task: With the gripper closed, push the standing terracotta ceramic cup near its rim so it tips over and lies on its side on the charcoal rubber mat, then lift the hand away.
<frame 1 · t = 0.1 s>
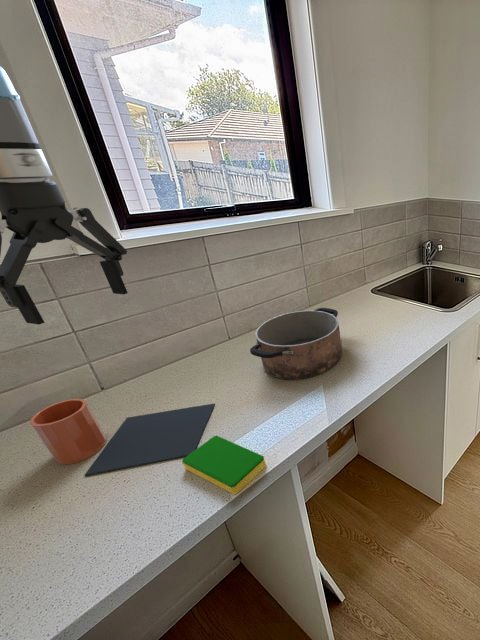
hand: (82, 306, 61), 30 cm above the countertop, tool pointing down, fingers open, 13 cm apart
cooking pot: (304, 358, 100), on the countertop
mat: (158, 435, 72), on the countertop
dish sponge: (226, 467, 65), on the countertop
cup: (82, 449, 69), on the countertop
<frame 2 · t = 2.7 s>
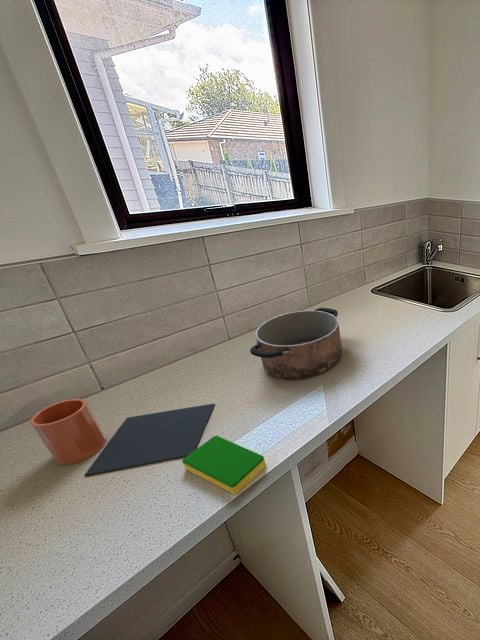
nothing on the countertop moved.
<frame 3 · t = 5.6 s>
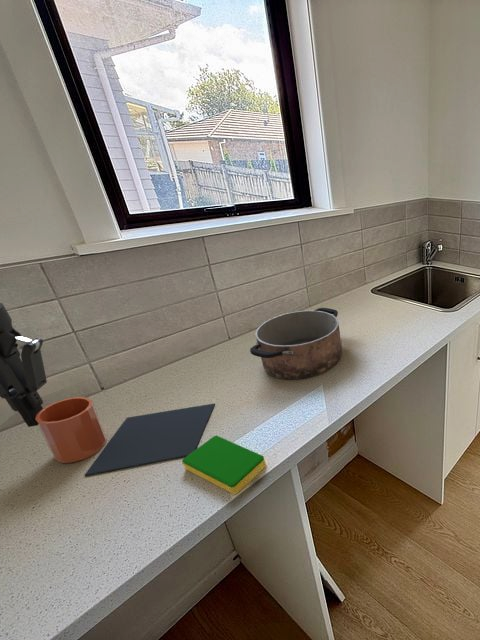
hand: (38, 421, 64), 9 cm above the countertop, tool pointing down, fingers closed
cup: (81, 448, 68), on the countertop, tilted 6°, touching gripper
everything else where it was.
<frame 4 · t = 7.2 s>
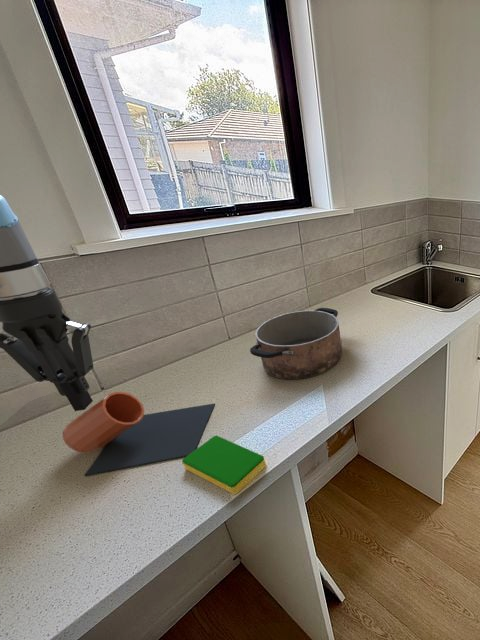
hand: (84, 405, 65), 10 cm above the countertop, tool pointing down, fingers closed
cup: (85, 435, 68), point 3 cm above the countertop, tilted 58°
everything else where it was.
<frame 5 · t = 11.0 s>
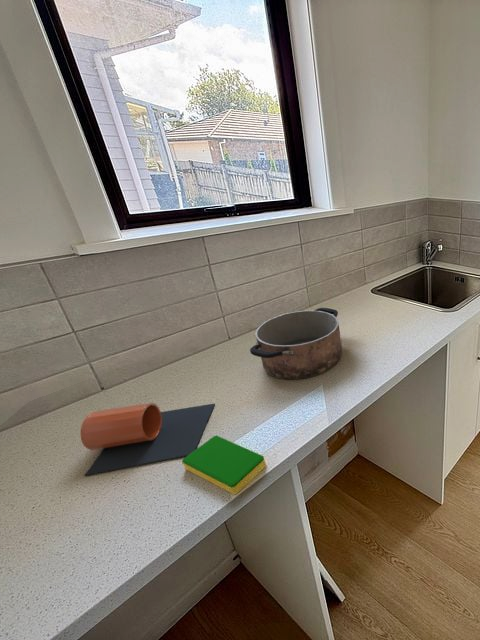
cup: (94, 430, 68), point 4 cm above the countertop, tilted 90°, touching mat
everything else where it was.
at the end: cup tilted 90°; cup inside the target area (2.8 cm from its centre), point 4.2 cm above the countertop; the gripper is holding nothing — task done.
